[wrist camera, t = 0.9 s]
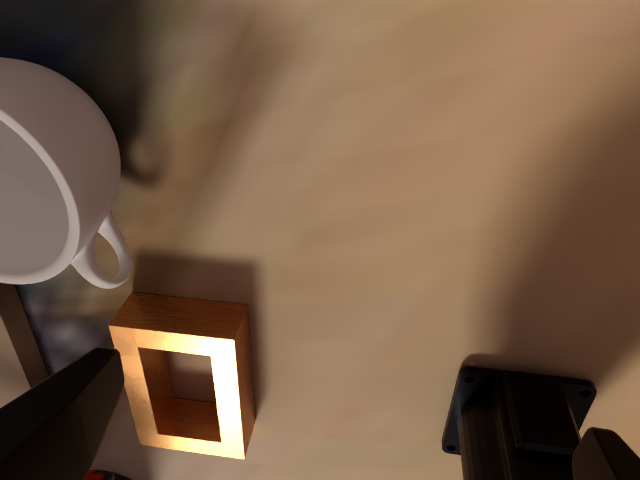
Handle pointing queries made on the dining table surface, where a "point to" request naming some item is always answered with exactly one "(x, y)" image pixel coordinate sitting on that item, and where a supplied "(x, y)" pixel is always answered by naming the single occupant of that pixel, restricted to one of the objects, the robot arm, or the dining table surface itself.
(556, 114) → the dining table surface
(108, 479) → the deodorant
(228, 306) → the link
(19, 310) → the board
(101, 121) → the teacup
